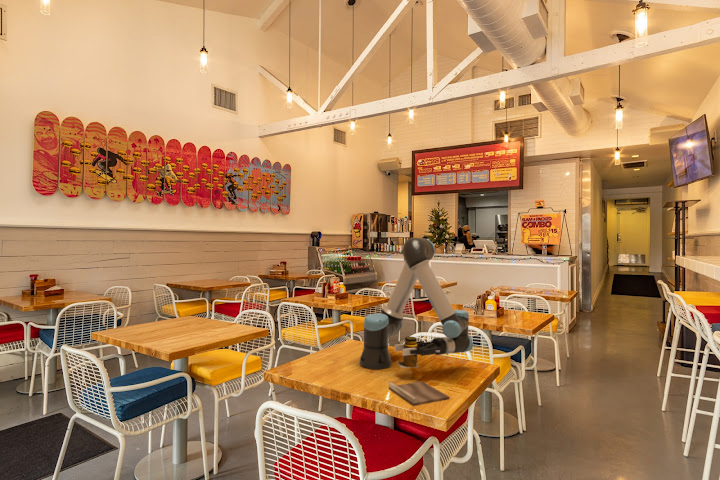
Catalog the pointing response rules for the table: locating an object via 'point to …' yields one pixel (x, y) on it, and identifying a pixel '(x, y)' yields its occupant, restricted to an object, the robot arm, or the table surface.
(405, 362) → the condiment
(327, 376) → the table surface
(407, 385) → the dock board
